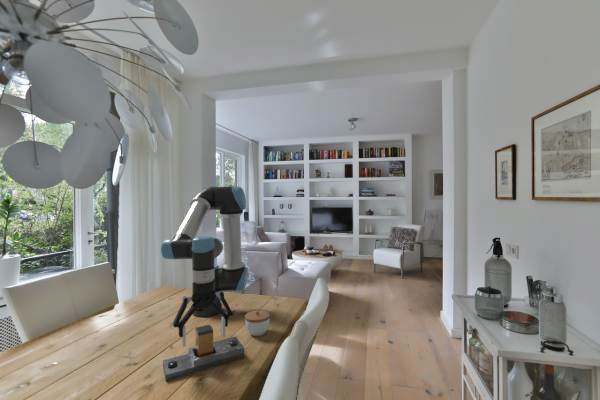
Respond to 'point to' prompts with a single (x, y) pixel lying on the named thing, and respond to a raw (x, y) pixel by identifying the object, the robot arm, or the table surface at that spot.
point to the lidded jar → (257, 322)
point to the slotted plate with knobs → (203, 359)
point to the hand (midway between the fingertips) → (204, 340)
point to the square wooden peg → (204, 341)
